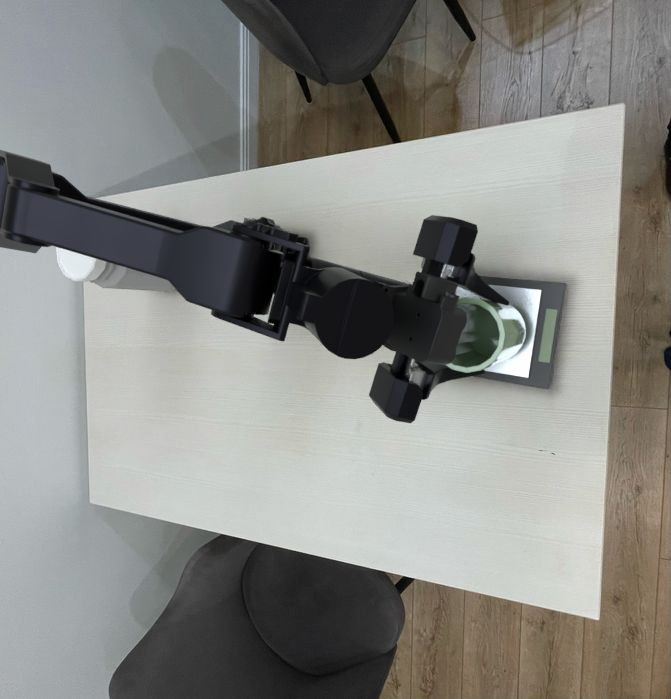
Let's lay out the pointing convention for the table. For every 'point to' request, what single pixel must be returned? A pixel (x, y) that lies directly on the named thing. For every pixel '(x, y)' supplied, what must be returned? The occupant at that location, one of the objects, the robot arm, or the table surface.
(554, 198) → the table surface
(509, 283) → the scale
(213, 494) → the table surface
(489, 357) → the tumbler
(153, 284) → the jar
